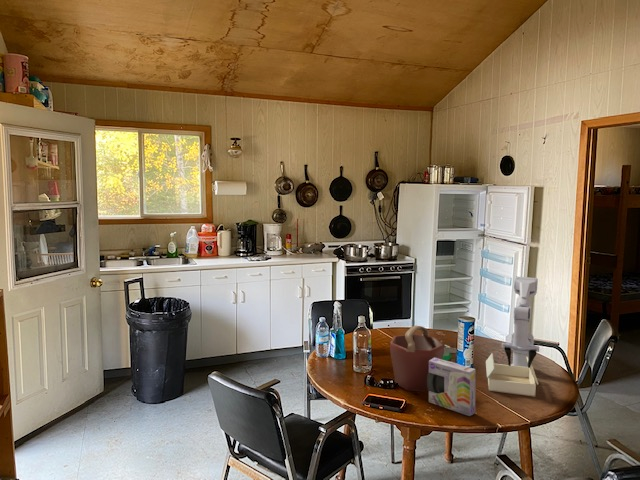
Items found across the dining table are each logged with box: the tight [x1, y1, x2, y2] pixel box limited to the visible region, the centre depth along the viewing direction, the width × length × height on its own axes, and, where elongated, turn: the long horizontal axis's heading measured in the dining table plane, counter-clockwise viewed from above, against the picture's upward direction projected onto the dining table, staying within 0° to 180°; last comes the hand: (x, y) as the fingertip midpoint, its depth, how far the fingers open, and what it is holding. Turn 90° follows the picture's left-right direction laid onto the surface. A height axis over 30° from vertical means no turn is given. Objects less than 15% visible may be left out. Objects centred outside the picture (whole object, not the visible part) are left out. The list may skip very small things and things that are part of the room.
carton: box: [487, 363, 537, 397], centre depth 214 cm, size 20×18×5 cm
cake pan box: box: [427, 358, 477, 417], centre depth 191 cm, size 19×5×18 cm, turn 45°
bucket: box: [389, 325, 445, 392], centre depth 213 cm, size 24×22×25 cm
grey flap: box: [485, 352, 495, 379], centre depth 216 cm, size 20×5×1 cm
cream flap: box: [526, 357, 539, 386], centre depth 211 cm, size 20×5×1 cm
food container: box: [439, 340, 458, 363], centre depth 235 cm, size 12×6×10 cm, turn 21°
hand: (519, 366), depth 208 cm, fingers open, 7 cm apart
